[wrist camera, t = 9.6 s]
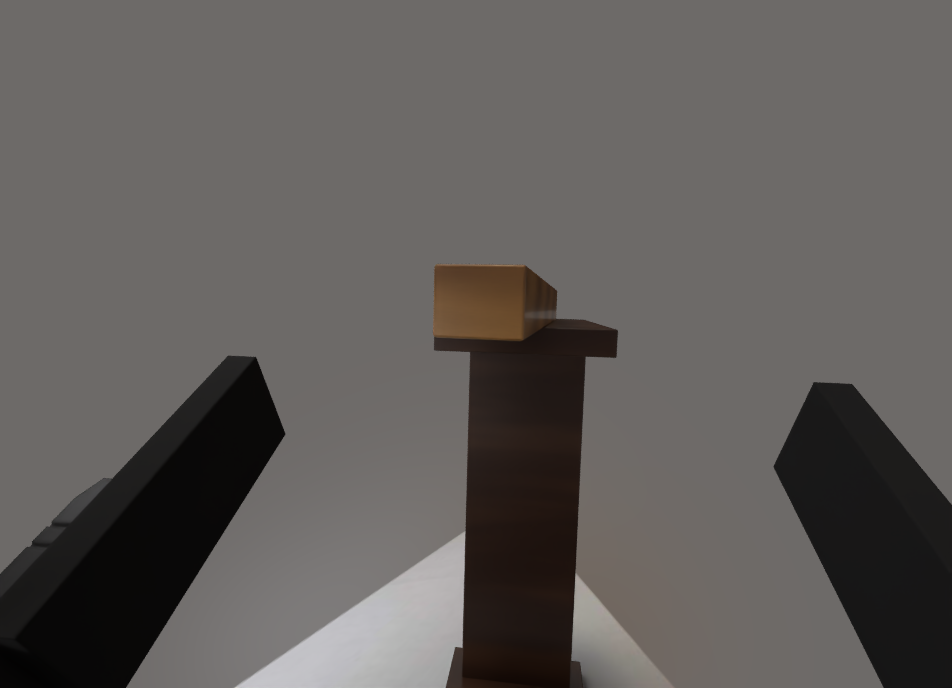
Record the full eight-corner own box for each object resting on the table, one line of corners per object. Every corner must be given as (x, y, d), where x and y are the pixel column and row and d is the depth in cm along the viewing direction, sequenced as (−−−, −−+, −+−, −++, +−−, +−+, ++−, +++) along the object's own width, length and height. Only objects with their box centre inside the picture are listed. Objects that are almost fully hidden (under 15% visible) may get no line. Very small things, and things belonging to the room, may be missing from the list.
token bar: (523, 341, 12) (526, 264, 12) (432, 337, 13) (433, 263, 13) (556, 319, 32) (557, 290, 32) (519, 318, 32) (520, 289, 32)
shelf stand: (608, 918, 22) (642, 330, 20) (403, 880, 23) (412, 323, 21) (579, 673, 37) (596, 319, 35) (454, 658, 38) (463, 315, 36)
